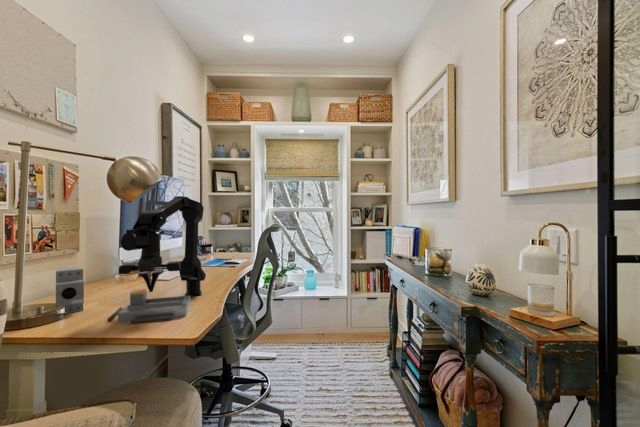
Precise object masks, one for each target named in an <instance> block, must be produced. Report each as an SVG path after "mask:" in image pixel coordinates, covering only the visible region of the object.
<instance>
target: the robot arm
mask: <svg viewBox="0 0 640 427" xmlns="http://www.w3.org/2000/svg"><path fill="white" fill-rule="evenodd" d="M204 210H205V209H204V205H203V204H202V203H201V202H198V201H197V200H194V199H191V198H189V197H188V196H184V195H181V196H180V195H177V196H174V197H173V198H172V199H171V200H169V201H168V202H166V203H164V204H162V205H161V206H159V207H158V208H154V209H150V210H147V211H146V210H145V211H142V212H141V213H139V215H138V217H137V219H136V221H135V223H134V225H133V227H132V228H131V229H126V230H125V231H126V232H125V234H123V235H122V237H121V238H120V246H121V247H122V249H123V250H124V251H126V252H127V251H129V252H130V251H137V250H141V253H140V258H139V260H138V261H137V264H136V263H135V262H134V263H133V262H132V263H131V262H129V263H123V264H121V265H120V266H119V267H118V275H127V274H130V273H131V272H137V271H138V274H137V276H138V277H139V276H141V278H143V279H144V282H145V284H146V287H147V290H148V291H149V293H153V292H154V289H155V287H156V283H157V280H158V279H159V276H160V275H162V274H164V272H165V270H167V271H168V272H179V276H180V281H183V282H184V281H185V284H186V285H185V287H186V290H185V293H184V296H190V297H195V296H202V290H201V289H202V288H201V285H202V283H201V281H202V282H203V281H205V280H206V277H207V276H206V275H207V274H206V273H205V271H204V270H203V268H202V262H201V260H200V259H199V257H198V248H199V247H198V245H199V244H198V243H199V223H200V221H201V220H202V219H203V215H204ZM178 211H179V212H181V216H182V219H183V220H184V222H185V238H184V240H185V243H184V257H183V259H182V260H178V261H177V260H176V261H175V260H173V261H168V262H167V263H163V259H162V255H161V235H165V232H164V231H163V229H161V228H162V227H164V225H165V224H166V222H167V219H168V218H169V217H170V216H172V215H173V214H175V213H177V212H178Z"/></svg>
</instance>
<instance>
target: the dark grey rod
mask: <svg viewBox="0 0 640 427" xmlns="http://www.w3.org/2000/svg"><path fill="white" fill-rule="evenodd" d="M123 308H124V307H122V306H120V307H119V308H118V309H117V310H116V311H114V313H112V314H111V315H110V316H109V317H108V318H107V321H108V322H112V321H113V320H114V319H115V318H116V317H117V316H118V313H119V312H120V311H121V310H122V309H123Z"/></svg>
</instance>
